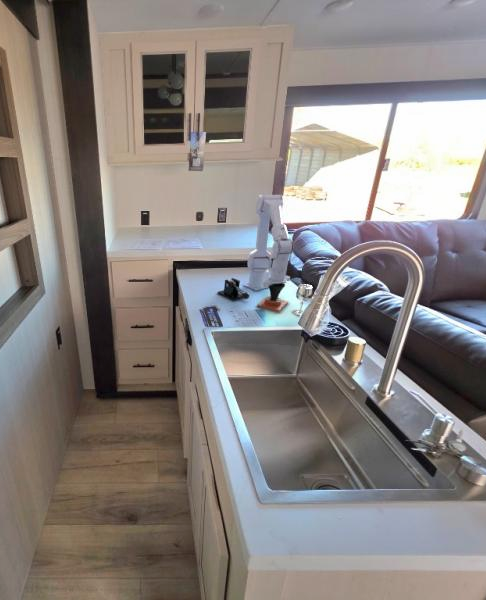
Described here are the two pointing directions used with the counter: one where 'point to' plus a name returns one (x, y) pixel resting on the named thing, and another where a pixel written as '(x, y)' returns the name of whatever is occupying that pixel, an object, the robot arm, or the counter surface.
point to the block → (272, 304)
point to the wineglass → (303, 295)
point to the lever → (244, 294)
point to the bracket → (231, 290)
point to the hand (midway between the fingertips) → (273, 299)
